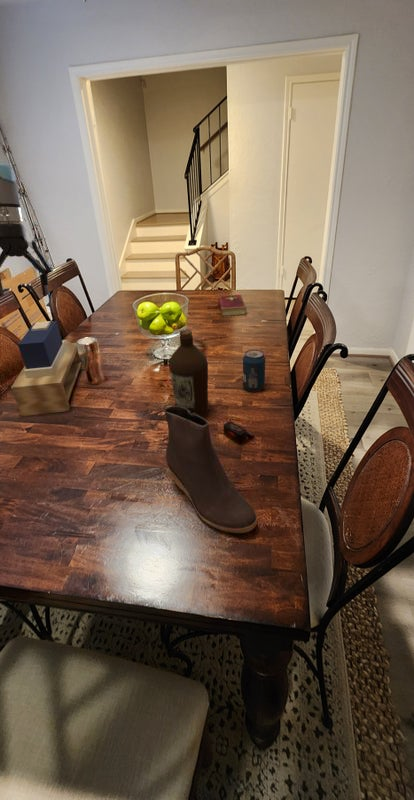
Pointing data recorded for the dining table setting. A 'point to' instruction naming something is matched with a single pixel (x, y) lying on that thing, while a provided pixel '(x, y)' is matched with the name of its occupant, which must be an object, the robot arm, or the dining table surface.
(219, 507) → the boot
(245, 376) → the soda can
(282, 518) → the dining table surface
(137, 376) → the dining table surface
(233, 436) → the wireless earbuds
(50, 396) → the tan long block
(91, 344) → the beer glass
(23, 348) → the navy block on base
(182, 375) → the olive oil
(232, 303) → the hardcover book
